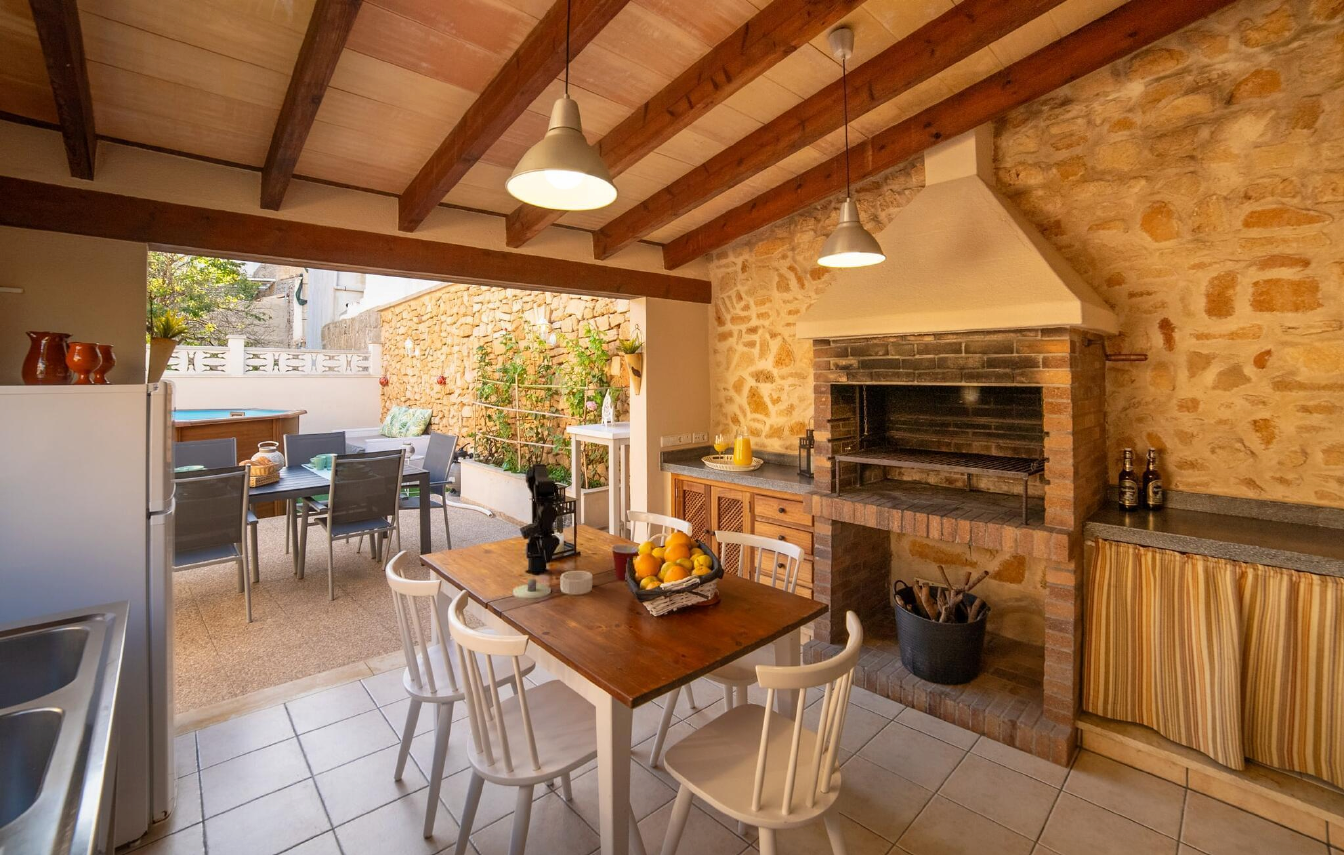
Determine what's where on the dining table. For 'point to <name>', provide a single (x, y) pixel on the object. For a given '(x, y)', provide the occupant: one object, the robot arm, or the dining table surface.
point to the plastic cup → (622, 558)
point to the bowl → (576, 582)
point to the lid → (531, 590)
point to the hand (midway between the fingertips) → (544, 559)
